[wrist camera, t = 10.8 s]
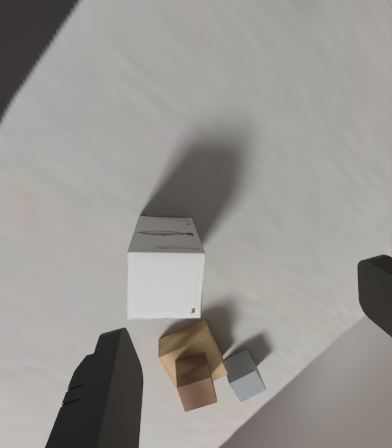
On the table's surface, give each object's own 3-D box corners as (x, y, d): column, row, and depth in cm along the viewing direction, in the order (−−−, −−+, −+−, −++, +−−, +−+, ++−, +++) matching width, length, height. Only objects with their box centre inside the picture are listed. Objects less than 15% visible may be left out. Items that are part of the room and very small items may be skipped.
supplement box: (192, 216, 36) (209, 252, 24) (188, 265, 38) (202, 321, 26) (138, 213, 35) (126, 250, 23) (136, 264, 37) (125, 322, 25)
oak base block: (205, 318, 41) (209, 335, 38) (221, 354, 44) (227, 374, 40) (158, 338, 41) (158, 357, 38) (178, 373, 44) (179, 394, 40)
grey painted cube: (246, 348, 44) (255, 370, 40) (256, 366, 45) (266, 389, 41) (222, 360, 44) (229, 383, 40) (233, 377, 45) (240, 402, 41)
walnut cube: (204, 351, 38) (210, 377, 34) (211, 374, 40) (217, 402, 35) (174, 360, 38) (176, 387, 34) (182, 382, 39) (185, 411, 35)
